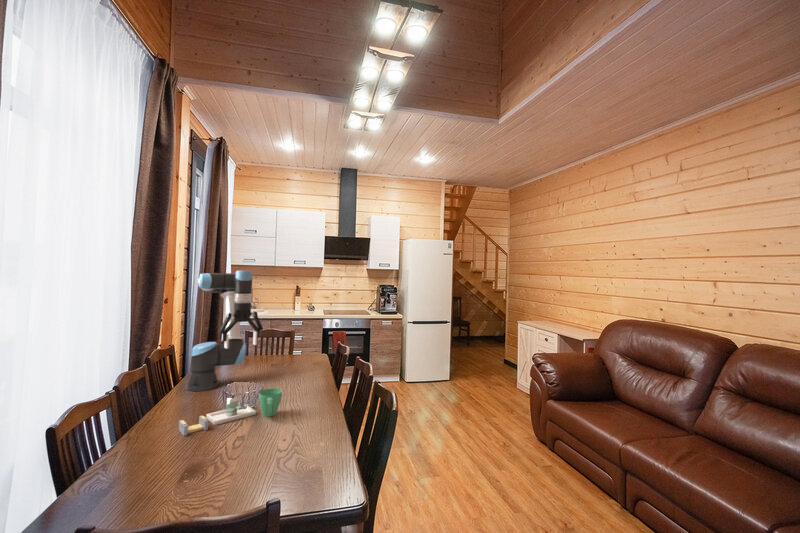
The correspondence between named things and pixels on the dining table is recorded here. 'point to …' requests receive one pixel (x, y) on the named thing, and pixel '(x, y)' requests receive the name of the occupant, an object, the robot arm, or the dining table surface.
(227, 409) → the cell
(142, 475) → the dining table surface
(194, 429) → the cradle
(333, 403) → the dining table surface
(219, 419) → the tray
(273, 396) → the mug
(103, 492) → the dining table surface
